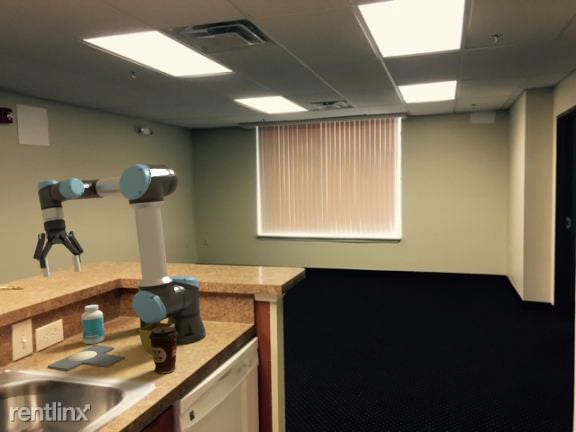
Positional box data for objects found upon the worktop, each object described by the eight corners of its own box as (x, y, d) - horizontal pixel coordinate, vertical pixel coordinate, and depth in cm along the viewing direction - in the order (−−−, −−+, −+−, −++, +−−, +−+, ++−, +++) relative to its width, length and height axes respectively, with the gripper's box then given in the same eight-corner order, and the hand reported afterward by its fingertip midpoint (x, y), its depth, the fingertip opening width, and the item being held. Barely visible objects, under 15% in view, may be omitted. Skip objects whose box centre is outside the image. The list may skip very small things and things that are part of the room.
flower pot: (161, 358, 154) (159, 331, 154) (139, 355, 158) (138, 329, 157) (176, 349, 163) (175, 323, 162) (155, 346, 166) (154, 322, 165)
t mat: (137, 351, 161) (136, 350, 161) (92, 374, 143) (92, 372, 143) (95, 346, 168) (94, 344, 168) (47, 367, 150) (47, 365, 150)
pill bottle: (108, 341, 174) (105, 305, 173) (88, 346, 169) (85, 309, 168) (99, 336, 179) (97, 302, 178) (79, 342, 174) (77, 306, 173)
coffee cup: (162, 378, 139) (159, 335, 138) (145, 372, 144) (142, 330, 143) (185, 368, 145) (182, 327, 144) (168, 362, 150) (165, 323, 149)
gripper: (74, 220, 193) (83, 271, 192) (16, 223, 171) (26, 280, 170) (87, 217, 190) (96, 268, 189) (29, 219, 168) (39, 277, 166)
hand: (63, 274), depth 179 cm, fingers open, 13 cm apart
